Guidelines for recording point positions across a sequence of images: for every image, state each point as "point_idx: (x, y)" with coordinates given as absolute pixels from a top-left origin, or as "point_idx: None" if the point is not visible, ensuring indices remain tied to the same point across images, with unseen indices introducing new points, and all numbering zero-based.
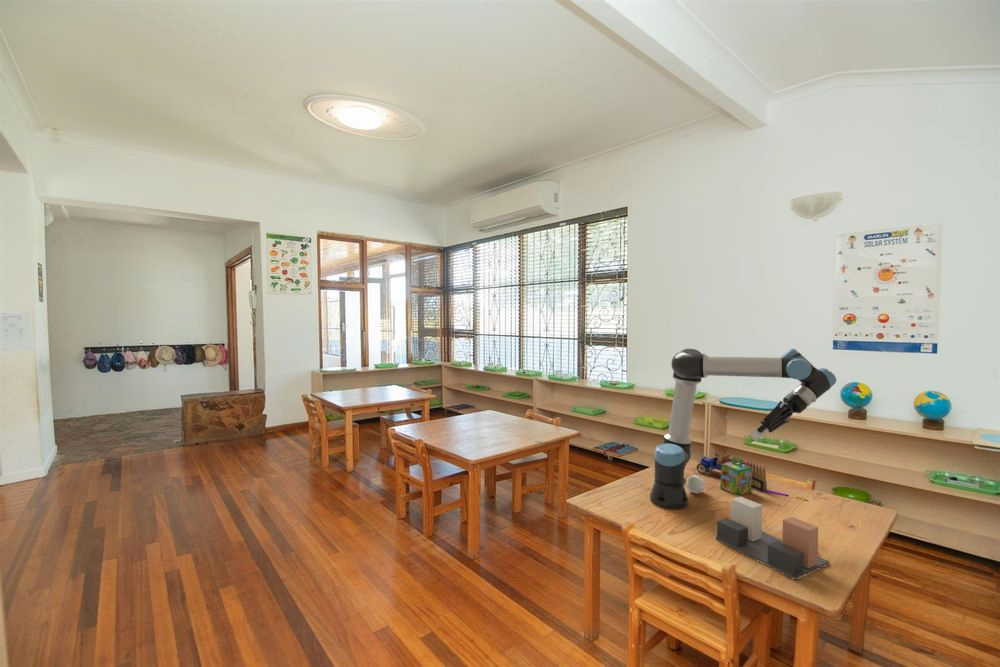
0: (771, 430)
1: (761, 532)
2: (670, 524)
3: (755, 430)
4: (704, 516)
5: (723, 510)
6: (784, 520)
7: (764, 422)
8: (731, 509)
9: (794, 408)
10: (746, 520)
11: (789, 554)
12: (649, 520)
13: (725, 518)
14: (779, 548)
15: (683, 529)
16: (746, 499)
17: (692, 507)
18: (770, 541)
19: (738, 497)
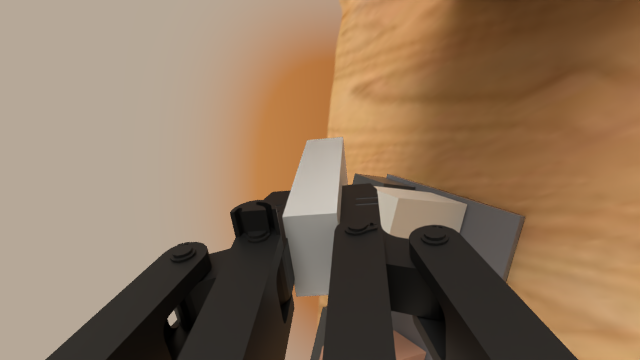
0: (416, 323)
1: (494, 264)
2: (391, 59)
3: (297, 173)
4: (502, 78)
5: (620, 86)
6: (322, 351)
7: (215, 258)
8: (385, 187)
9: None
10: None
11: (312, 353)
12: (378, 17)
13: (378, 182)
14: (322, 332)
15: (388, 95)
16: (387, 223)
17: (546, 4)
18: None
19: (387, 195)
